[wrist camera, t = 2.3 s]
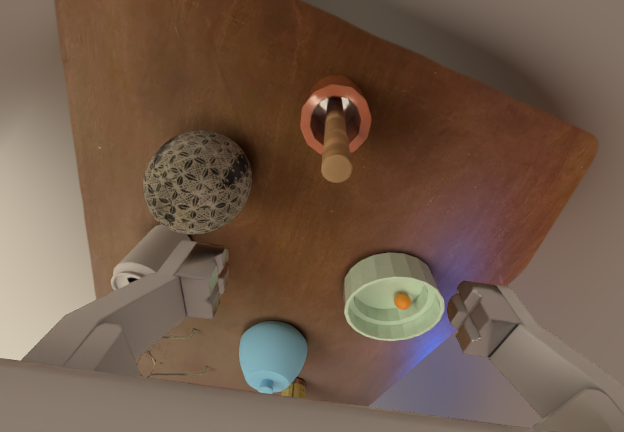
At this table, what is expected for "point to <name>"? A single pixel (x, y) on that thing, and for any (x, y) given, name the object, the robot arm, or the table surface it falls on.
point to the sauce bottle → (296, 389)
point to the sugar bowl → (272, 355)
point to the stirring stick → (336, 144)
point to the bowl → (391, 297)
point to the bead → (402, 301)
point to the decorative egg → (197, 182)
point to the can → (147, 256)
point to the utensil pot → (352, 104)
